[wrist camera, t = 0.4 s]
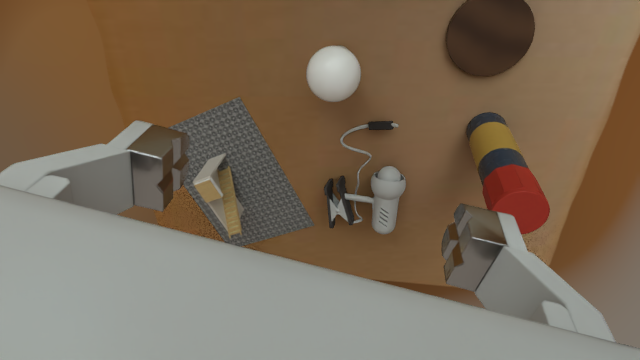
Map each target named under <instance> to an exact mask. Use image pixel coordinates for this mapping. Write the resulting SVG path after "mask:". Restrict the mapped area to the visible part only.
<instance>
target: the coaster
mask: <svg viewBox="0 0 640 360" xmlns="http://www.w3.org/2000/svg"><path fill="white" fill-rule="evenodd" d="M534 30H535V22H534V17H533V13H532V11H531V9H530V7H529V6H528V4H527V3H526V2H525V1H524V0H467V1H466V2H465V3H464V4H462V5H461V6H460V8H459V9H458V10H457V11H456V12H455V14H454V15H453V17H452V19H451V21H450V23H449V26H448V29H447V36H446V42H447V49H448V52H449V54H450V57H451V59H452V60H453V62H454V63H455V64H456V65H457V66H458V67H459V68H460V69H462V70H463V71H465V72H467V73H469V74H472V75H477V76H489V75H495V74H498V73H501V72H503V71H505V70H507V69H509V68H511V67H512V66H514V65H515V64H516V63H517V62H518V61H519V60H520V59H521V58H522V57H523V56H524V55H525V53H526V52H527V50H528V49H529V47H530V45H531V42H532V40H533V36H534Z"/></svg>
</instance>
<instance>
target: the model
mask: <svg viewBox="0 0 640 360" xmlns="http://www.w3.org/2000/svg"><path fill="white" fill-rule="evenodd" d="M226 156H227V154H226V153H222V154H219V155H217V156H214V157H212V158H209V159H208V160H207V161H206V163H205V164H204V165H203V167H202V168H201V170H200V171H199V172H198V174H197V175H196V176H195V178H194V179H193V181H192V184H193V186H194V188H195V189H196V191H197V192H198V193H199V195H200V196H201V198H202V199H203V200H204V202H205V203H206V204H207V205H208V206H209V208H210V209H211V210H212V212H213V213H214V215H215V216H216V217H217V219H218V220H219V222H220V223H221V225H222V226H223V227H224V229H225V230H226V232H227V234H228V238H229V239H231V238H232V236H234V235H237V234H239V235H240V236H242V235H243V233H242V231H243V228H242V223H241V217H242V215H243V213H244V211H245V209H244V207H243V206H242V204H241V203H240V201H239V200H238V198H237V196H236V191H235V185H234V180H233V174H232V169H231V167H230V166H229V165H228V166H227V168H224V169H222V170H218V168H219V166H220V165H221V163H222V162H223V160H224V159H225V157H226Z"/></svg>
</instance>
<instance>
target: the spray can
mask: <svg viewBox="0 0 640 360" xmlns="http://www.w3.org/2000/svg"><path fill="white" fill-rule="evenodd" d="M466 132H467V137H468V140H469V144H470V148H471V151H472V154H473V157H474V161H475V164H476V167H477V170H478V173H479V176H480V179H481V182H482V185H483V184H484V179H485V178H486V177H487V176H488V175H489V174H490V173H491V172H492V171H493V170H494V169H496V168H499V167H503V166H507V165H511V164H512V165H513V164H514V165H518V166H522V167H526V168H528V166H527V164H526V162H525V160H524V157H523V155H522V153H521V151H520V149H519V147H518V146H517V144H516V142H515V140H514V138H513V136H512V134H511V132H510V130H509V128H508V126H507V124H506V122H505V120H504V119H503V118H502V117H501V116H500V115H498V114H495V113H490V112H489V113H482V114H479V115H477V116H476V117H474V118H473V119H472V120H471V121H470V123H469V124H468V126H467V131H466ZM528 169H529V168H528Z"/></svg>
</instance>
